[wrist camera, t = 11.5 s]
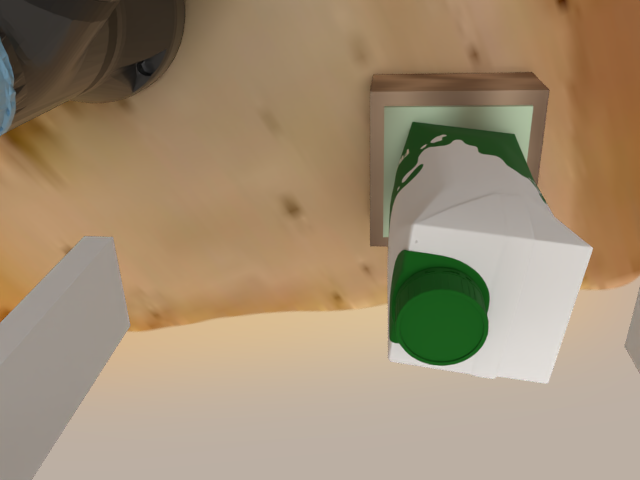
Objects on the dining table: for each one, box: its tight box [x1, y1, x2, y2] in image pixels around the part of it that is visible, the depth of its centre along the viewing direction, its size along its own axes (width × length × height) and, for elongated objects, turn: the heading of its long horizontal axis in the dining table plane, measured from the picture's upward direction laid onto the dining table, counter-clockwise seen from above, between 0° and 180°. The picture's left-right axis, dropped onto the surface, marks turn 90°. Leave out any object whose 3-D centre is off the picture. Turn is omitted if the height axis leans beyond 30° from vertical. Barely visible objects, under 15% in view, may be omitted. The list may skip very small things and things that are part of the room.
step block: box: [370, 72, 549, 246], centre depth 47 cm, size 12×12×6 cm
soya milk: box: [388, 122, 593, 384], centre depth 35 cm, size 9×9×20 cm
